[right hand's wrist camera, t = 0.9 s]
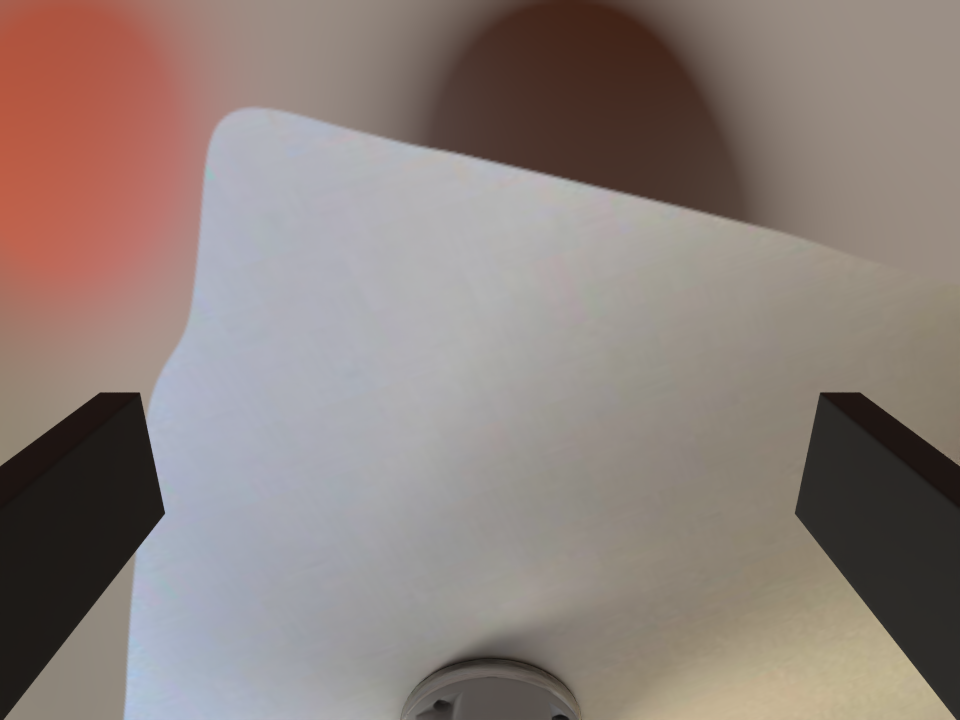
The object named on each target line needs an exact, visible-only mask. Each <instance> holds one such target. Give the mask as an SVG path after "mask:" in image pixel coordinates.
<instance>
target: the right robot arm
mask: <svg viewBox="0 0 960 720" xmlns="http://www.w3.org/2000/svg"><path fill="white" fill-rule="evenodd" d="M164 514H165V511H164V506H163V501H162V496H161V492H160V487H159V482H158V477H157V472H156V468H155V463H154V458H153V453H152V448H151V444H150V439H149V434H148V429H147V425H146V420H145V415H144V410H143V406H142V401H141V396H140V393H99V394H97V395H96V396H95V397H93V398H92V399H91V400H89V401H88V402H87V403H85V404H84V405H83V406H81V407H80V408H79V409H77V410H76V411H75V412H73V413H72V414H70V415H69V416H68V417H66V418H65V419H64V420H62V421H61V422H60V423H58V424H57V425H56V426H54V427H53V428H51V429H50V430H49V431H47V432H46V433H45V434H43V435H42V436H41V437H39V438H38V439H37V440H35V441H34V442H33V443H31V444H30V445H28V446H27V447H26V448H24V449H23V450H22V451H20V452H19V453H18V454H16V455H15V456H14V457H12V458H11V459H10V460H8V461H7V462H6V463H4V464H3V465H1V466H0V720H4V718H5V717H6V716H7V715H8V713H9V712H10V711H11V709H12V708H13V707H14V706H15V704H16V703H17V702H18V701H19V699H20V698H21V697H22V695H23V694H24V693H25V692H26V690H27V689H28V688H29V686H30V685H31V684H32V683H33V681H34V680H35V679H36V678H37V676H38V675H39V674H40V672H41V671H42V670H43V669H44V667H45V666H46V665H47V664H48V662H49V661H50V660H51V658H52V657H53V656H54V655H55V653H56V652H57V651H58V650H59V648H60V647H61V646H62V644H63V643H64V642H65V641H66V639H67V638H68V637H69V635H70V634H71V633H72V632H73V630H74V629H75V628H76V627H77V625H78V624H79V623H80V621H81V620H82V619H83V618H84V616H85V615H86V614H87V613H88V611H89V610H90V609H91V607H92V606H93V605H94V604H95V602H96V601H97V600H98V598H99V597H100V596H101V595H102V593H103V592H104V591H105V589H106V588H107V587H108V586H109V584H110V583H111V582H112V581H113V579H114V578H115V577H116V576H117V574H118V573H119V572H120V570H121V569H122V568H123V566H124V565H125V564H126V563H127V561H128V560H129V559H130V558H131V556H132V555H133V554H134V553H135V551H136V550H137V549H138V547H139V546H140V545H141V544H142V542H143V541H144V540H145V538H146V537H147V536H148V535H149V533H150V532H151V531H152V530H153V528H154V527H155V526H156V524H157V523H158V522H159V521H160V519H161V518H162V517H163V516H164ZM795 514H796V516H797V517H798V518H799V519H800V521H801V522H802V523H803V524H804V526H805V527H806V528H807V530H808V531H809V532H810V533H811V535H812V536H813V537H814V538H815V540H816V541H817V542H818V544H819V545H820V546H821V547H822V549H823V550H824V551H825V553H826V554H827V555H828V556H829V558H830V559H831V560H832V561H833V563H834V564H835V565H836V567H837V568H838V569H839V570H840V572H841V573H842V574H843V576H844V577H845V578H846V579H847V581H848V582H849V583H850V584H851V586H852V587H853V588H854V590H855V591H856V592H857V593H858V595H859V596H860V597H861V598H862V600H863V601H864V602H865V604H866V605H867V606H868V607H869V609H870V610H871V611H872V613H873V614H874V615H875V616H876V618H877V619H878V620H879V621H880V623H881V624H882V625H883V627H884V628H885V629H886V630H887V632H888V633H889V634H890V635H891V637H892V638H893V639H894V641H895V642H896V643H897V644H898V646H899V647H900V648H901V650H902V651H903V652H904V653H905V655H906V656H907V657H908V658H909V660H910V661H911V662H912V664H913V665H914V666H915V667H916V669H917V670H918V671H919V673H920V674H921V675H922V676H923V678H924V679H925V680H926V681H927V683H928V684H929V685H930V687H931V688H932V689H933V690H934V692H935V693H936V694H937V695H938V697H939V698H940V699H941V701H942V702H943V703H944V704H945V706H946V707H947V708H948V710H949V711H950V712H951V713H952V715H953V716H954V717H955V718H956V720H960V466H959V465H957V464H956V463H955V462H953V461H952V460H950V459H949V458H948V457H946V456H945V455H944V454H942V453H941V452H940V451H938V450H937V449H936V448H934V447H933V446H932V445H930V444H929V443H927V442H926V441H925V440H923V439H922V438H921V437H919V436H918V435H917V434H915V433H914V432H913V431H911V430H910V429H909V428H907V427H906V426H904V425H903V424H902V423H900V422H899V421H898V420H896V419H895V418H894V417H892V416H891V415H890V414H888V413H887V412H886V411H884V410H883V409H881V408H880V407H879V406H877V405H876V404H875V403H873V402H872V401H871V400H869V399H868V398H867V397H865V396H864V395H863V394H861V393H820V396H819V401H818V405H817V410H816V415H815V420H814V425H813V429H812V434H811V439H810V444H809V448H808V453H807V458H806V463H805V468H804V472H803V477H802V482H801V487H800V492H799V496H798V501H797V506H796V511H795ZM401 720H581V715H580V710H579V707H578V705H577V703H576V701H575V699H574V697H573V696H572V694H571V693H570V692H569V690H568V689H567V688H566V687H565V686H564V685H563V684H562V683H561V682H559V681H558V680H557V679H556V678H554V677H553V676H551V675H550V674H548V673H546V672H544V671H542V670H540V669H538V668H536V667H533V666H530V665H527V664H524V663H520V662H516V661H510V660H500V659H482V660H473V661H467V662H462V663H458V664H455V665H452V666H449V667H447V668H444V669H442V670H440V671H438V672H436V673H434V674H433V675H431V676H429V677H428V678H427V679H425V680H424V681H423V682H421V683H420V684H419V685H418V686H417V687H416V688H415V689H414V691H413V692H412V693H411V694H410V696H409V697H408V699H407V701H406V703H405V705H404V708H403V711H402V715H401Z"/></svg>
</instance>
